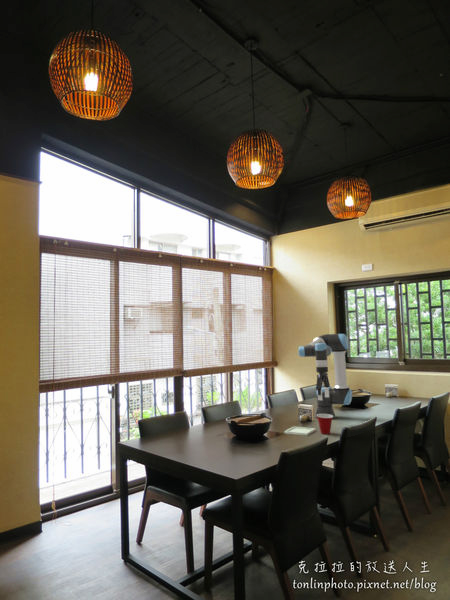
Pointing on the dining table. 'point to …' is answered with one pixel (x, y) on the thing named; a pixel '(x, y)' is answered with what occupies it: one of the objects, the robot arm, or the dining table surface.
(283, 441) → the dining table surface
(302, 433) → the tray
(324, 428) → the plastic cup
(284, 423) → the dining table surface
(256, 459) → the dining table surface
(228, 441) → the dining table surface
